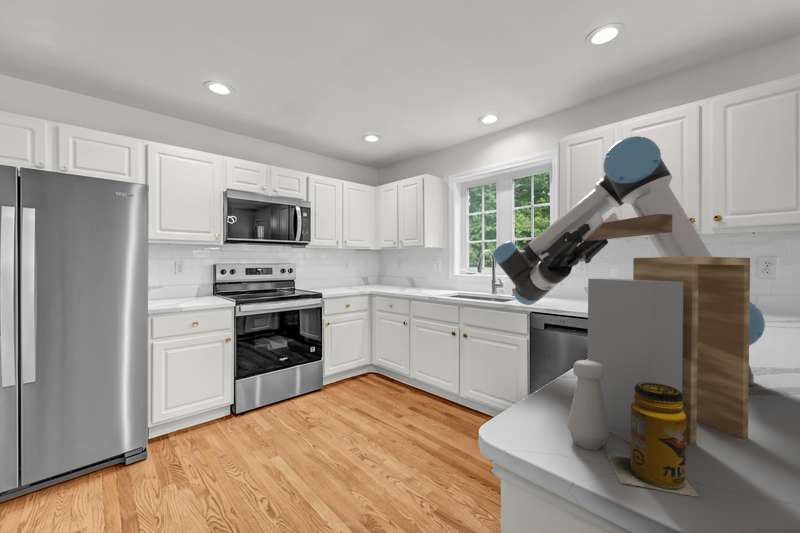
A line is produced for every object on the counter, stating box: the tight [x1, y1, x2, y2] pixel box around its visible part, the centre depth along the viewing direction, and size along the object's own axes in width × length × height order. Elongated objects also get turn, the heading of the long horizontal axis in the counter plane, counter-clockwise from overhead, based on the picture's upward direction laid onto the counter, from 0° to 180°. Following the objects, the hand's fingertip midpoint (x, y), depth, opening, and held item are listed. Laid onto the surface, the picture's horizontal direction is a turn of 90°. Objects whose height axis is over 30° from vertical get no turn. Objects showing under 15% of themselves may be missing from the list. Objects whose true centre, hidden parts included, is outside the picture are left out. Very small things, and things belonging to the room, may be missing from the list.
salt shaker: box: [567, 359, 610, 451], centre depth 57 cm, size 6×6×13 cm
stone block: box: [586, 278, 683, 444], centre depth 61 cm, size 6×13×26 cm, turn 12°
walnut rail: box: [578, 214, 672, 242], centre depth 74 cm, size 3×21×3 cm, turn 11°
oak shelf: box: [632, 256, 751, 446], centre depth 63 cm, size 12×11×30 cm
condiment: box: [606, 383, 700, 497], centre depth 48 cm, size 7×8×12 cm
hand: (608, 217), depth 77 cm, fingers closed on walnut rail, 3 cm apart
